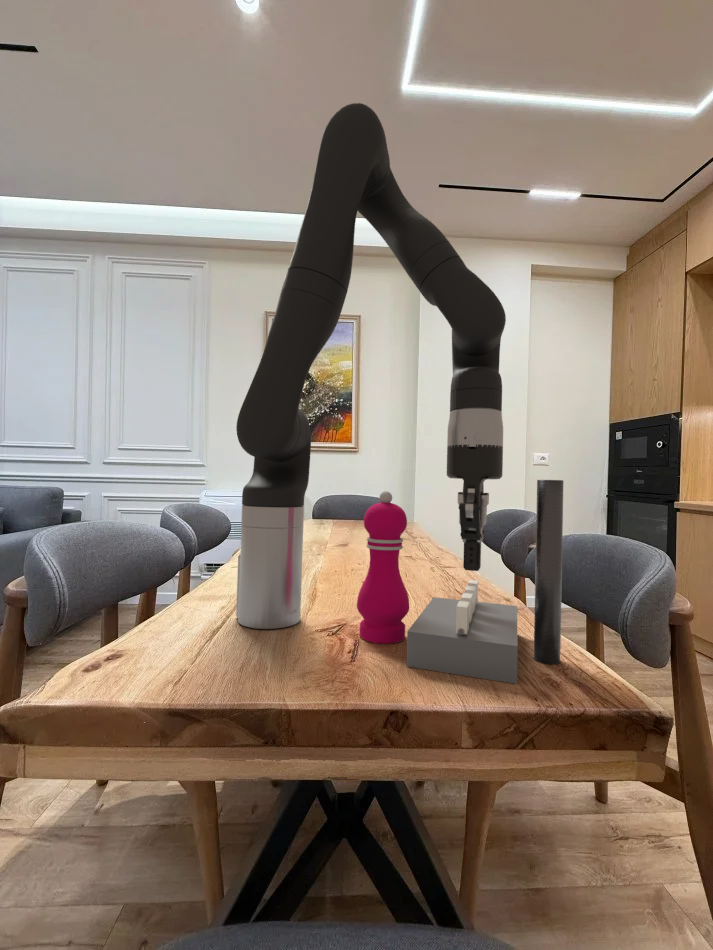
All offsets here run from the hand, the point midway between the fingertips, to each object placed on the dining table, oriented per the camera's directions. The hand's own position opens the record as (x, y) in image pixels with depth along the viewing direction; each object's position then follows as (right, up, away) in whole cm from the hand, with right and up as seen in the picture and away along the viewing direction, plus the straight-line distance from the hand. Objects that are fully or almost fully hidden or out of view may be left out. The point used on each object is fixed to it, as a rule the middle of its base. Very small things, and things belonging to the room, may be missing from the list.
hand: (471, 569), depth 63 cm
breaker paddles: (-2, -5, -4) cm, 7 cm away
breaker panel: (-2, -9, -4) cm, 10 cm away
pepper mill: (-12, -9, 0) cm, 16 cm away
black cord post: (+7, -10, -7) cm, 14 cm away
